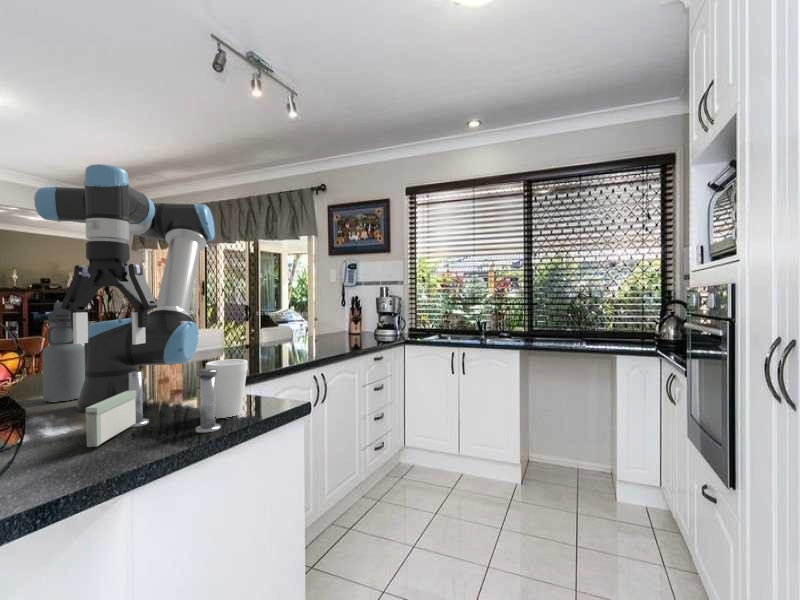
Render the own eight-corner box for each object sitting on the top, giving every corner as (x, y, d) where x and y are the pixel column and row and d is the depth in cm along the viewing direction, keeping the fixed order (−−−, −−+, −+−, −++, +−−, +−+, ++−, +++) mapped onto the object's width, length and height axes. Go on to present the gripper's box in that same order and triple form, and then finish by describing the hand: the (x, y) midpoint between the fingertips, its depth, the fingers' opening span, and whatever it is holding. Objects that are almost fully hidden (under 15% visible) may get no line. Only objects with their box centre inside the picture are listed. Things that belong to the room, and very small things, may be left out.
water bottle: (84, 400, 120) (82, 302, 119) (40, 405, 114) (38, 302, 114) (87, 393, 128) (86, 301, 128) (46, 397, 123) (44, 302, 123)
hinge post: (117, 427, 94) (116, 373, 94) (136, 420, 99) (135, 369, 99) (136, 428, 93) (135, 374, 93) (154, 421, 98) (153, 370, 98)
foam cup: (233, 421, 98) (232, 365, 98) (198, 419, 100) (197, 364, 99) (255, 410, 107) (254, 359, 107) (222, 408, 109) (222, 358, 109)
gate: (127, 423, 94) (126, 390, 94) (136, 423, 95) (136, 390, 94) (86, 446, 80) (85, 408, 80) (97, 446, 80) (97, 407, 80)
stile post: (190, 432, 90) (189, 372, 90) (205, 425, 95) (205, 368, 95) (210, 434, 89) (209, 372, 89) (225, 426, 94) (224, 368, 94)
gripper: (38, 241, 86) (39, 345, 86) (149, 237, 82) (150, 346, 82) (71, 245, 93) (73, 341, 93) (174, 242, 89) (176, 341, 90)
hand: (109, 343), depth 88 cm, fingers open, 13 cm apart
